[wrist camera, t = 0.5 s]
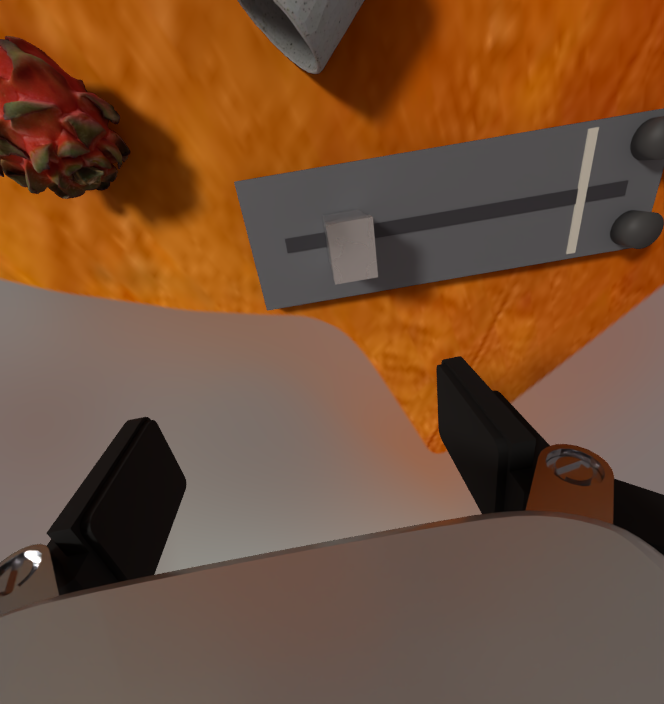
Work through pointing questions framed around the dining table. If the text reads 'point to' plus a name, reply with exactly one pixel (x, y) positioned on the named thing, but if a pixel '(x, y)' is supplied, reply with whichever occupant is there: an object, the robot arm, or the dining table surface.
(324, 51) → the ceramic mug
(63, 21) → the dining table surface
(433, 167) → the grey slider track
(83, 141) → the dragon fruit
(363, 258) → the fader tab
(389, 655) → the robot arm
